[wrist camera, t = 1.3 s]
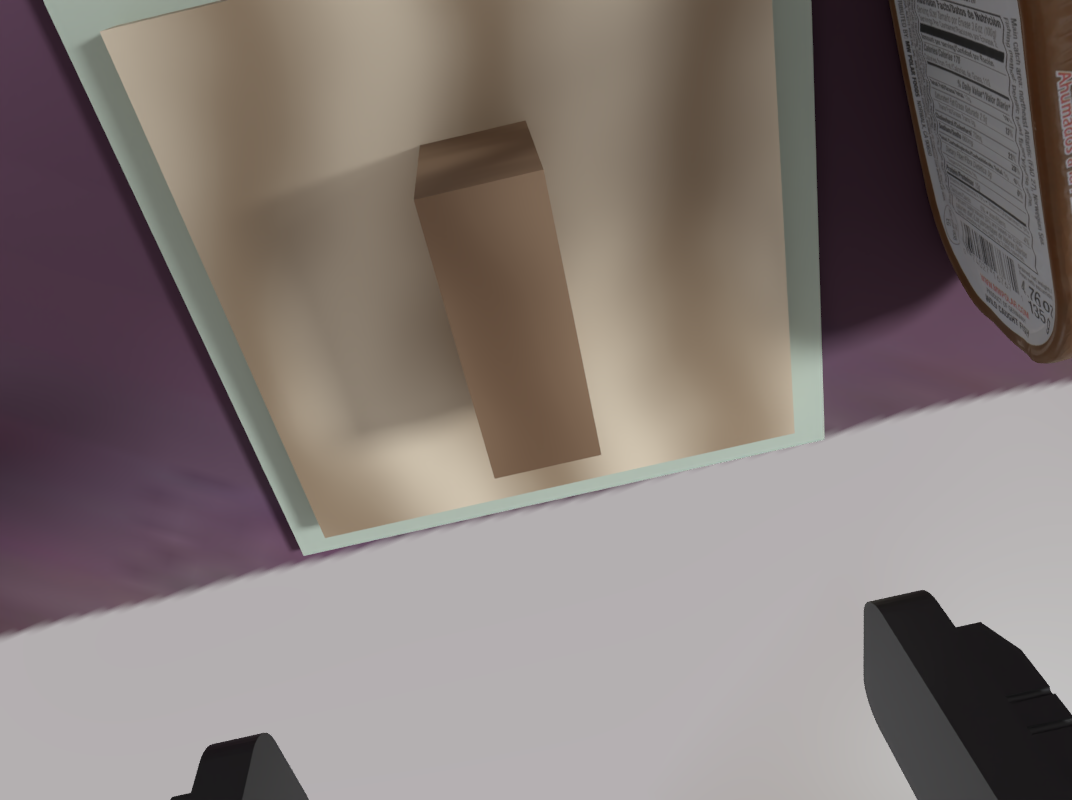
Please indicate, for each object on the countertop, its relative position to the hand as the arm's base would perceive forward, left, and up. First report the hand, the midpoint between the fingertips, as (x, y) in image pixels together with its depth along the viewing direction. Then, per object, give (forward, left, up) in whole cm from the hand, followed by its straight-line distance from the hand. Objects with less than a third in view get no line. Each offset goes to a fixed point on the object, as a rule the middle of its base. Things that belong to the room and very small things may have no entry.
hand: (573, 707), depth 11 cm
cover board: (0, 0, -17) cm, 17 cm away
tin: (-14, -2, -18) cm, 23 cm away
